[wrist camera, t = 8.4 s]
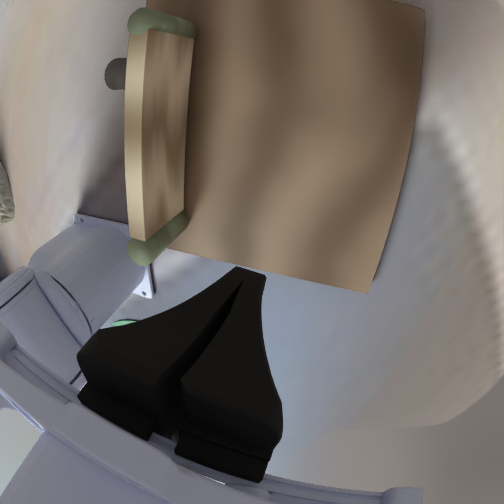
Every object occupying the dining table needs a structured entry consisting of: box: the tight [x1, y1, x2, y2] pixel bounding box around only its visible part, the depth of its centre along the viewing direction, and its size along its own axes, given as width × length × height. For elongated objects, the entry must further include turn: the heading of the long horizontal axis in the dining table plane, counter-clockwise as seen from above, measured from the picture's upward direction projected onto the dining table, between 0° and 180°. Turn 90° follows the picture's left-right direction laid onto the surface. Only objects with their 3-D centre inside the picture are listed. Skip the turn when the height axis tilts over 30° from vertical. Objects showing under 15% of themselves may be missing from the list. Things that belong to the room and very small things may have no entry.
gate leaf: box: [124, 8, 198, 266], centre depth 16 cm, size 16×2×5 cm, turn 174°
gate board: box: [105, 0, 425, 293], centre depth 16 cm, size 18×20×5 cm
